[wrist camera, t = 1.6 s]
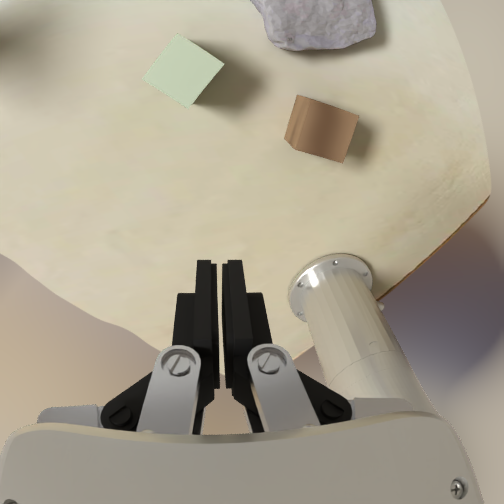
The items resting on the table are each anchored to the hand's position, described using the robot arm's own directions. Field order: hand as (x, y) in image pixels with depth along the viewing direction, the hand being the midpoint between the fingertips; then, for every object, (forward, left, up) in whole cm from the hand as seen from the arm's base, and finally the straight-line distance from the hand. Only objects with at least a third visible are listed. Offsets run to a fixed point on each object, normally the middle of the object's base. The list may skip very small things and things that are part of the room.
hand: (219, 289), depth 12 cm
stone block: (-3, -18, -23) cm, 29 cm away
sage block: (+6, -7, -22) cm, 24 cm away
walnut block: (-8, -7, -22) cm, 25 cm away
